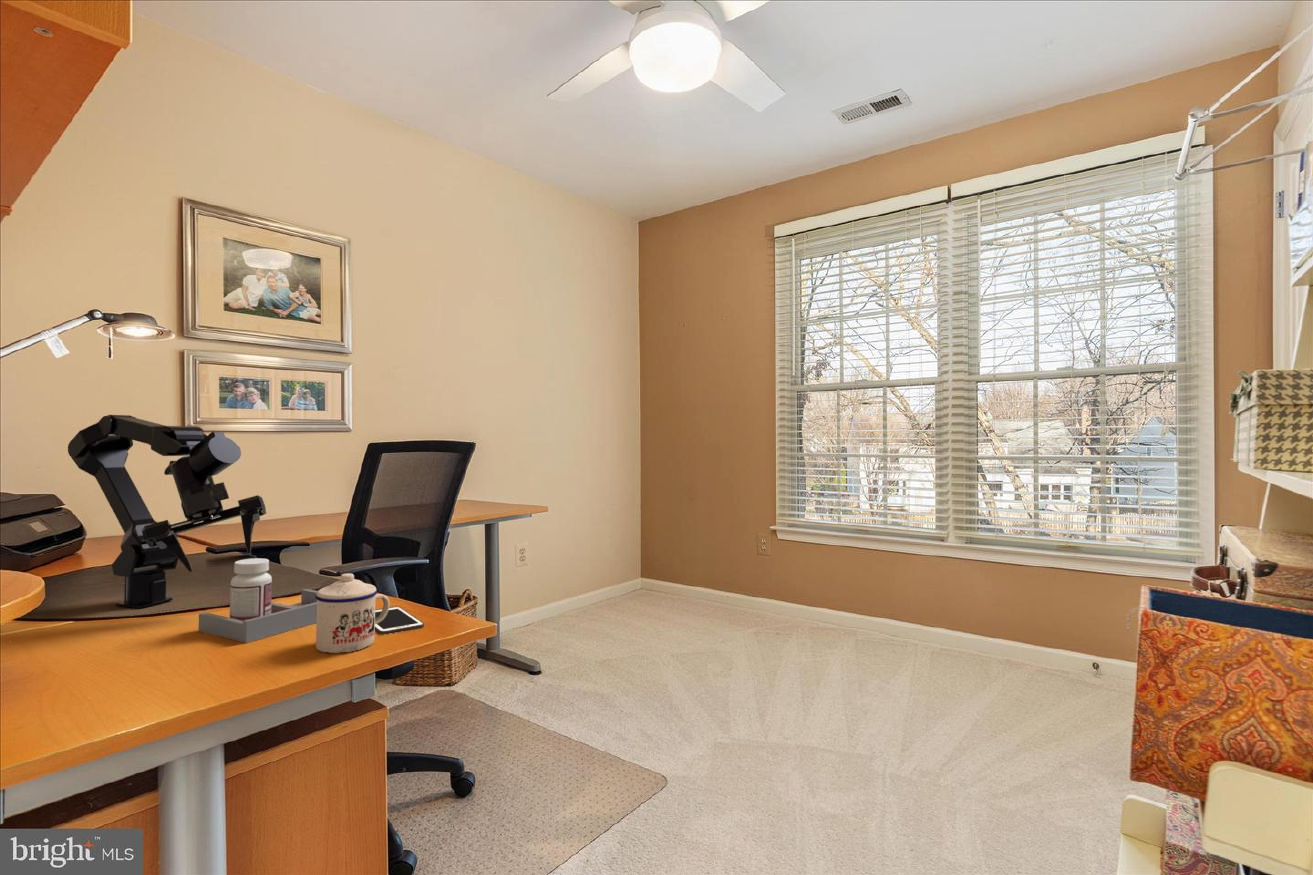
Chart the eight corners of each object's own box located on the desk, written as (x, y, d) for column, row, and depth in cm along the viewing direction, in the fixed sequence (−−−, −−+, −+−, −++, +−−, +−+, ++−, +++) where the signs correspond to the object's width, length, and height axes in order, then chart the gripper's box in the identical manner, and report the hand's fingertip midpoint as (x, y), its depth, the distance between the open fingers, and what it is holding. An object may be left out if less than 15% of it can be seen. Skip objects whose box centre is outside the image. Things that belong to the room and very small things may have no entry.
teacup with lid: (331, 659, 96) (333, 583, 96) (303, 646, 101) (305, 574, 101) (402, 639, 106) (404, 571, 106) (373, 628, 111) (375, 563, 111)
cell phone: (398, 610, 124) (398, 605, 124) (425, 629, 113) (425, 624, 113) (356, 617, 119) (357, 612, 119) (381, 637, 108) (381, 631, 108)
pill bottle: (258, 617, 114) (260, 556, 114) (278, 623, 111) (279, 560, 111) (221, 626, 108) (223, 561, 108) (241, 632, 106) (243, 566, 106)
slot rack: (198, 630, 107) (198, 610, 107) (305, 603, 126) (306, 586, 126) (246, 643, 102) (246, 621, 102) (351, 612, 120) (351, 594, 120)
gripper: (124, 488, 106) (150, 573, 104) (250, 458, 117) (276, 534, 114) (137, 506, 115) (161, 585, 113) (253, 477, 126) (277, 548, 123)
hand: (221, 562), depth 116 cm, fingers open, 9 cm apart
